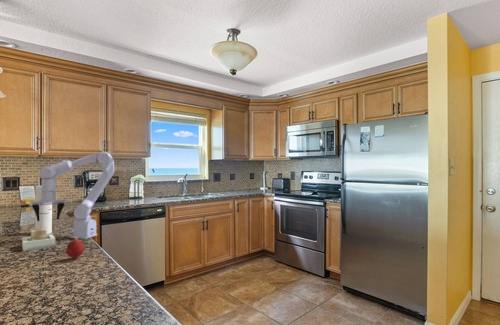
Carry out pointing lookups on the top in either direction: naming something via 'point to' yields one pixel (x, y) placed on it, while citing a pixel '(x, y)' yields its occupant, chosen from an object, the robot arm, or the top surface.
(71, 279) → the top surface
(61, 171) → the robot arm
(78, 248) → the onion
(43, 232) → the block
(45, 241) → the dish
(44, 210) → the cylindrical container
